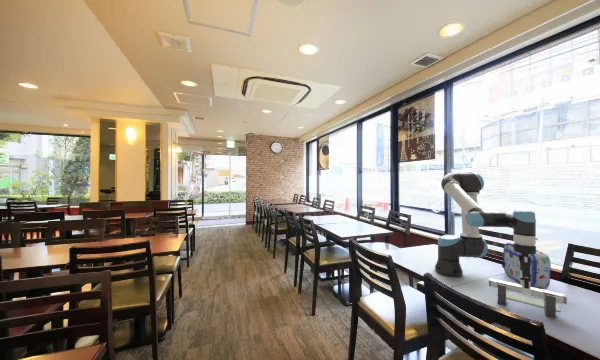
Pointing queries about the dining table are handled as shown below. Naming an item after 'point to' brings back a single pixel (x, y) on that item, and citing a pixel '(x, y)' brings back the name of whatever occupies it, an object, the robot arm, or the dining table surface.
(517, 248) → the robot arm
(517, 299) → the mat
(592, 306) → the dining table surface
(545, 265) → the lunch box
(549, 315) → the post right
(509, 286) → the rail
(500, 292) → the post left
